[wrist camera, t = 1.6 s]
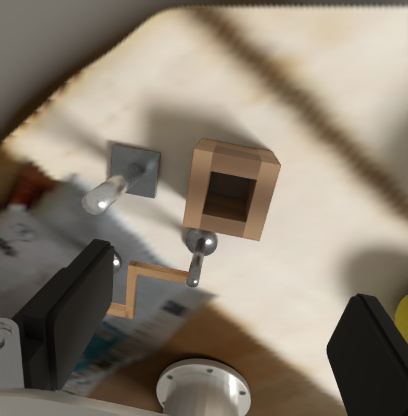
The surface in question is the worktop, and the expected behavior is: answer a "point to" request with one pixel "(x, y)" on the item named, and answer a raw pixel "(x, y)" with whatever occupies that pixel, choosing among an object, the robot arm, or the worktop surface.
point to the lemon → (402, 317)
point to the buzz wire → (165, 270)
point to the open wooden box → (226, 206)
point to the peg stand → (125, 178)
